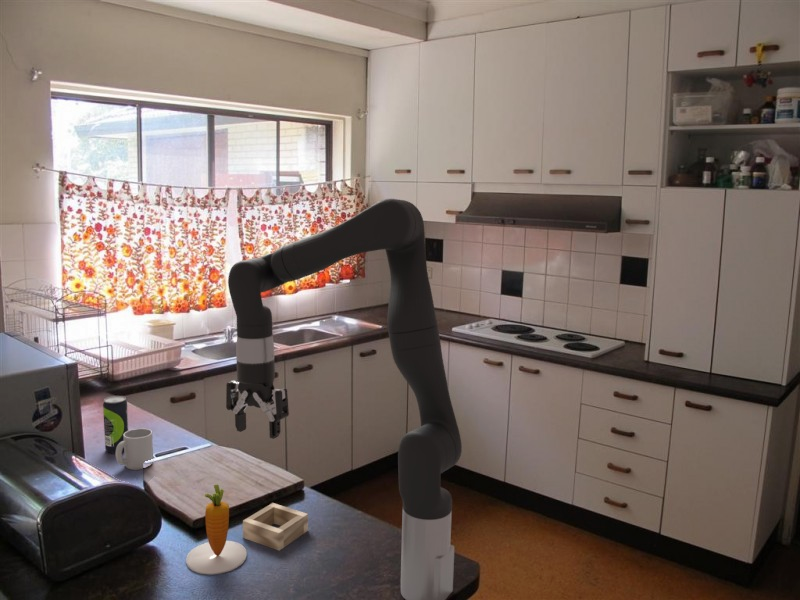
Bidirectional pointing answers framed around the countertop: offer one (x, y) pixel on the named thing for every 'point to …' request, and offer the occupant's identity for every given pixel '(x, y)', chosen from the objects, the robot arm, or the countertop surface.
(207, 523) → the carrot
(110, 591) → the countertop surface
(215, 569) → the domed disc
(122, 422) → the beverage can
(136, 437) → the cup
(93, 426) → the countertop surface
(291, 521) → the pocket frame
